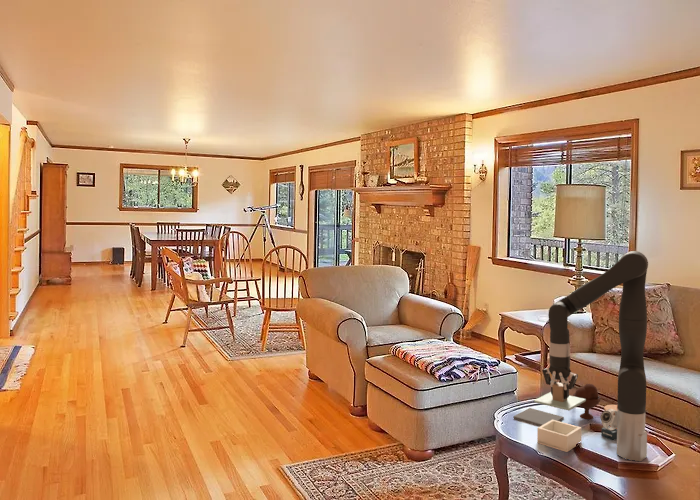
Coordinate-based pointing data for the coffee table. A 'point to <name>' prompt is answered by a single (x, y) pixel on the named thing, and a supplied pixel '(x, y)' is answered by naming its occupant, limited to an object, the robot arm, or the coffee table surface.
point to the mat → (537, 417)
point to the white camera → (611, 408)
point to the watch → (606, 420)
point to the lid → (559, 399)
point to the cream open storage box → (559, 435)
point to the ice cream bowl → (588, 399)
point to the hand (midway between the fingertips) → (559, 397)
